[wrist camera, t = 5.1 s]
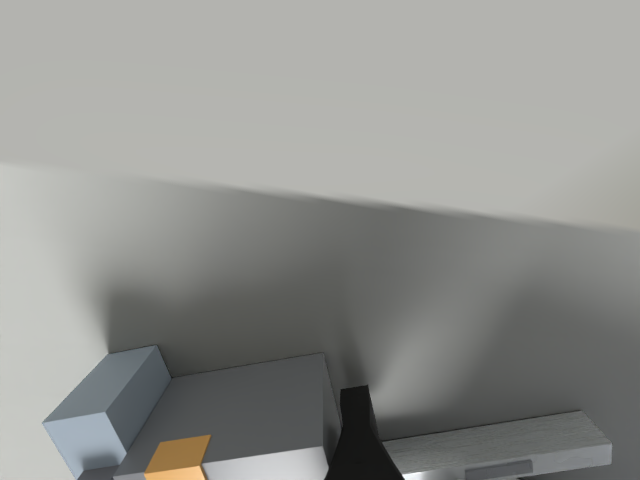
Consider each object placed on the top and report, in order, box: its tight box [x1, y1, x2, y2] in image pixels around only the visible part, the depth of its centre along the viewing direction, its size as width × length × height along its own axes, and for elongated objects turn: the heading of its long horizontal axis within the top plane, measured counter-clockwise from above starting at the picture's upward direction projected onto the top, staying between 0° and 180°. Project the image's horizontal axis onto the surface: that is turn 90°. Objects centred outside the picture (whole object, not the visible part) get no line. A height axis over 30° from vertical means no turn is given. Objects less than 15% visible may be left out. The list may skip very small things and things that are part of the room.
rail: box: [382, 411, 612, 480], centre depth 14 cm, size 18×1×2 cm, turn 103°
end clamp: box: [42, 345, 172, 480], centre depth 12 cm, size 2×6×4 cm, turn 13°
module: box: [113, 353, 342, 480], centre depth 12 cm, size 6×4×4 cm
